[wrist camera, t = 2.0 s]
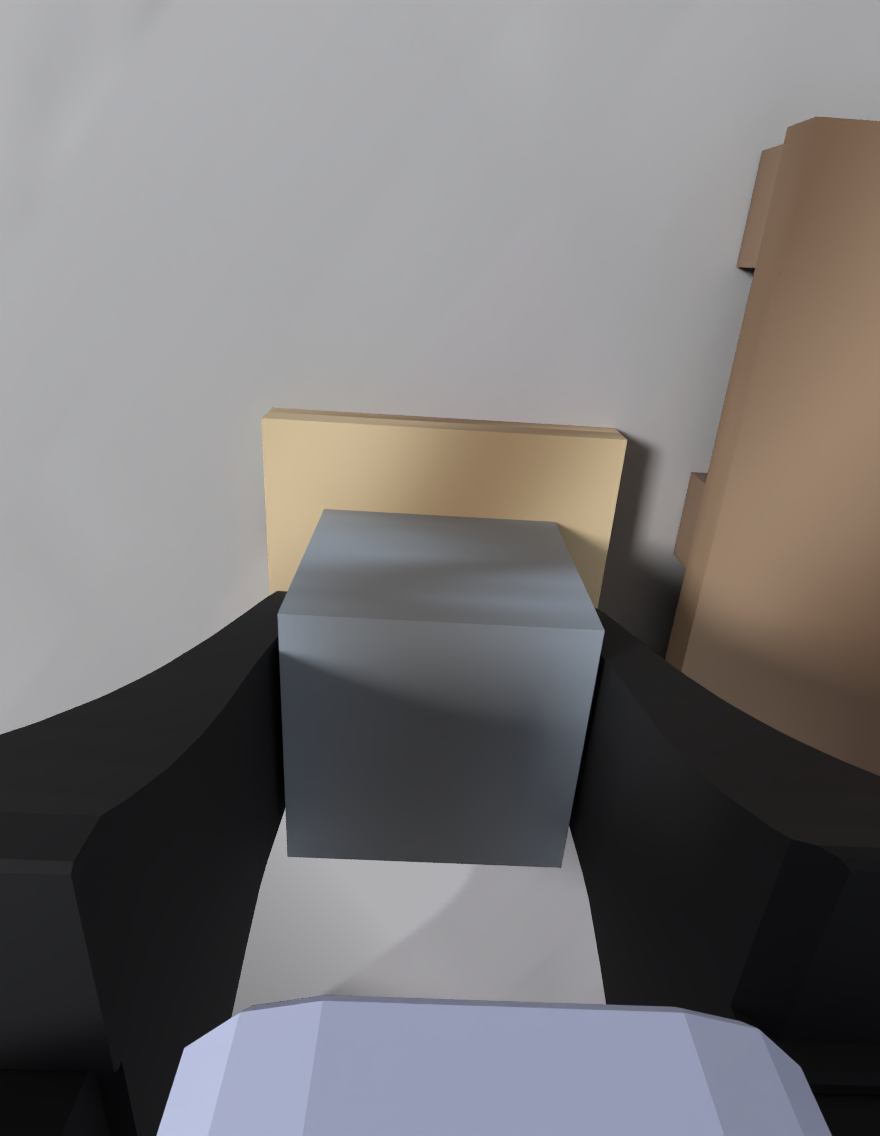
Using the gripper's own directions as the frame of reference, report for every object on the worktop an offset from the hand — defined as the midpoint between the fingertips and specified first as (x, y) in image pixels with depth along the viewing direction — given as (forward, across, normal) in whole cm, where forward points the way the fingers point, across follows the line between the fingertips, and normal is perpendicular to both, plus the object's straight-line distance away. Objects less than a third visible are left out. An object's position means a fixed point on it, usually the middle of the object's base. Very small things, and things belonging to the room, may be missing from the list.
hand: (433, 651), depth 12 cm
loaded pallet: (+2, 0, 0) cm, 2 cm away
